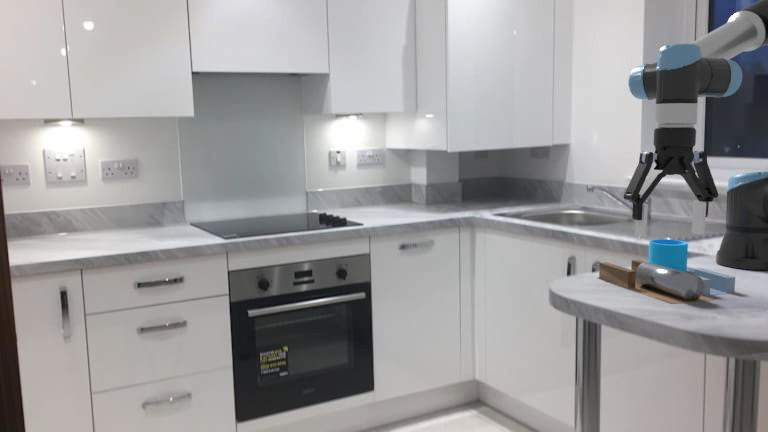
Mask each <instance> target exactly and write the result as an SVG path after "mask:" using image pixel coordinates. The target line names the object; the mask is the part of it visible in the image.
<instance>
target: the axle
mask: <svg viewBox="0 0 768 432" xmlns="http://www.w3.org/2000/svg"><path fill="white" fill-rule="evenodd" d="M636 281H637V282H638V283H639V284H640V285H643V286H646V287H649V288H652V289H655V290H658V291H661V292H664V293H667V294H670V295H673V296H676V297H679V298H682V299H685V300H688V301H695V300H697V299H699V298H700V297H701V295H702V293H703V291H704V283H703V280H702V279H701V278H700V277H699V276H696V275H694V274H692V273H688V272H682V271H678V270H675V269H671V268H668V267H664V266H660V265H657V264H653V263H650V262H649V261H644V262H643V263H641V264H640V265H639V266H638V267H637V269H636Z"/></svg>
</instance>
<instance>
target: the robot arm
mask: <svg viewBox="0 0 768 432" xmlns="http://www.w3.org/2000/svg"><path fill="white" fill-rule="evenodd" d="M764 46H765V47H766V46H768V0H758V1H756V2H754V3H752V4H750V5H748V6H746V7H744V8H742V9H740V10H739V11H737V12H735V13H733V15H731V16H730V17H729V18H728V19H727V21H726V23H724V24H723V25H721V26H719V27H717V28H716V29H713V30H712V31H710V32H708V33H706V34H704V35H703V36H702V37H699V38H698V39H696V40H694V41H692V42H691V43H672V44H671V43H670V44H667V45H663V46H662V47H660V49H659V50H658V57H657V61H655V62H653V63H645V64H641V65H637V66H635V67H634V68H633V69H632V70H631V72H630V73H629V75H628V82H627V83H628V88H629V92H630V94H631V95H632V96H633V97H634V98H636V99H638V100H648V101H652V100H655V106H654V107H655V110H654V113H655V114H654V124H655V125H657V127H655V129H654V130H653V146H654V147H655V148H654V149H655V150H654V152H652V151H641V152H640V154H639V157H638V159H639V160H638V164H637V166H636V168H635V170H634V173H633V175H632V177H631V179H630V181H629V183H628V185H627V187H626V190H625V192H624V193H623V194H624V195H623V199H624V200H628V201H629V202H630V203H631V204H632V211H631V212H632V213H631V214H632V215H631V218H632V220H634V233H633V234H634V235H633V236H634V237H637V238H643V239H647V233H648V214H649V213H648V212H649V204H648V203H645V202H646V201H647V199H648V198H649V196H650V195H651V194H652V193H653V191H654V189H656V187H657V186H658V184H659V183H660V182H661V180H662V179H664V178H665V177H666V176H667V175H668V176H674V175H677V176H681V177H682V178H683V180H684V182H686V184H687V186H688V187H689V188H690V190H691V192H692V193H693V194H694V196H695V198H696V199H697V200H692V201H693V202H692V218H691V219H692V220H691V234H696V235H701V236H702V235H705V234H706V233H705V230H706V218H707V217H708V216H709V203H712V202H713V201H714V199H716V198H718V196H719V192H718V188H717V186H716V184H715V181H714V177H713V175H712V173H711V169H710V166H709V163H708V152H707V151H704V150H703V151H699V150H695V151H693V150H694V149H693V148H694V147H695V146H696V143H697V141H696V138H697V129H696V127H694V125H697V123H698V103H699V102H698V101H699V99H698V98H707V97H708V98H710V97H711V98H712V97H713V98H716V99H717V98H719V99H720V98H722V97H723V98H725V97H729V96H732V95H733V94H735V93H736V92H738V89H740V87H741V85H742V82H743V71H742V68H741V66H740V65H739V64H738V63H737V61H734V60H732V59H733V58H734V57H736V56H738V55H739V54H741V53H743V52H751V51H755V50H757V49H759V48H760V47H764ZM692 162H693V165H692ZM653 163H655V164H654V165H653ZM725 192H726V206H725V207H726V209H725V210H726V211H725V229H724V234H723V237H722V240H721V243H720V245H719V246H720V247H719V250H717V252H716V255H715V262H716V264H718V265H721V266H725V267H729V268H734V269H742V270H751V271H752V270H756V271H758V270H759V271H768V170H766V171H765V170H764V171H763V170H762V171H751V172H741V173H740V172H739V173H733V174H732V175H730V177H729V178H728V182H727V188H726V191H725Z"/></svg>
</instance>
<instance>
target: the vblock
mask: <svg viewBox="0 0 768 432" xmlns="http://www.w3.org/2000/svg"><path fill="white" fill-rule="evenodd" d="M693 275H696V276H699V277H700V278H701V279H702V280H703V283H704V291H703V293H702V295H703V296H706V297H709V296H717V295H726V294H727V295H729V294H735V288H736V287H735V286H736V277H735V276H732V275H728V274H724V273H721V272H716V271H714V270H709V269H706V268H695V269H694V274H693Z"/></svg>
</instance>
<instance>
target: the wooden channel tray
mask: <svg viewBox="0 0 768 432" xmlns="http://www.w3.org/2000/svg"><path fill="white" fill-rule="evenodd" d="M643 262H645V261H644V260H641V259H634V260H633V259H632V260H631V267H630V268H631V269H630V268H626V267H623V266H620V265H616V264H613V263H610V262H599V269H598V271H599V273H598V276H599V277H597V279H598V280H601V281H604V282H606V283H610V284H612V285H615V286H618V287H620V288H621V287H622V288H624V289H626V290H630V291H632V292H636V293H638V294H641V295H644V296H647V297H649V298H653V299H656V300H659V301H661V302H665V303H667V304H670V305H676V304H686V303H695V302H703V301H704V302H706V301H715V300H716V299H715V298H712V297H709V296H704V295H701V297H700V298H699V299H697V300H695V301H688V300H685V299H682V298H679V297H676V296H673V295H670V294H667V293H664V292H661V291H658V290H655V289H652V288H649V287H646V286H643V285H640V284H639V283H638V282H637V281H636V269H637V267H638V266H639V265H640V264H641V263H643Z"/></svg>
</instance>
